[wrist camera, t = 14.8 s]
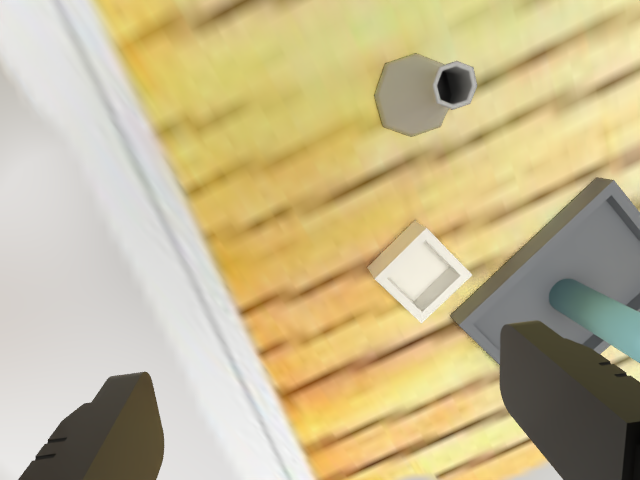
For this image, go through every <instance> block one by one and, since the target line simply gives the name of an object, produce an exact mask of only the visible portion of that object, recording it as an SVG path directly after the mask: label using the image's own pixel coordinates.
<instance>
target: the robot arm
mask: <svg viewBox="0 0 640 480" xmlns="http://www.w3.org/2000/svg"><path fill="white" fill-rule="evenodd" d="M500 391H501V395H502V399H503V402H504V404H505V407H506V409H507V410H508V412H509V413H510V415H511V416H512V417H513V418H514V420H515V421H516V422H517V423H518V425H519V426H520V427H521V428H522V429H523V431H524V432H525V433H526V434H527V436H528V437H529V438H530V439H531V440H532V442H533V443H534V444H535V445H536V447H537V448H538V449H539V450H540V451H541V453H542V454H543V455H544V456H545V458H546V459H547V460H548V461H549V462H550V464H551V465H552V466H553V467H554V468H555V470H556V471H557V472H558V474H559V475H560V476H561V477H562V478H563V480H640V382H639V381H637V380H636V379H634V378H633V377H632V376H627V375H626V372H624V371H623V370H622V369H620V368H619V367H617V366H616V365H614V364H610V361H609V360H607V359H606V358H604V357H603V356H601V355H600V354H599V353H597V352H596V351H594V350H593V349H591V348H589V347H587V346H584V345H582V344H579V343H577V342H574V341H572V340H569V339H567V338H565V339H564V338H563V337H561V336H560V335H559V334H557V333H556V332H555V331H553V330H552V329H550V328H549V327H548V326H546V325H545V324H544V323H542V322H541V321H538V320H534V321H527V322H520V323H512V324H506V325H504V326H503V327H502V329H501V333H500ZM163 455H164V434H163V429H162V425H161V420H160V416H159V411H158V406H157V402H156V397H155V392H154V388H153V383H152V380H151V377H150V375H149V374H148V373H147V372H140V373H133V374H125V375H119V376H111V377H109V378H108V379H107V381H106V382H105V383H104V385H103V387H102V388H101V389H100V391H99V392H98V394H97V395H96V397H95V398H94V399H93V401H92V402H91V403H85V404H83V405H82V406H80V407H79V408H78V409H77V410H75V411H74V412H73V413H71V414H70V415H69V416H68V417H66V418H65V419H64V420H63V421H62V422H61V423H60V424H59V426H58V427H57V428H56V430H55V431H54V432H53V434H52V435H51V436H50V438H49V439H48V443H47V444H45V445H44V446H43V447H42V448H41V450H40V451H39V453H38V454H37V455H36V459H35V461H32V462H31V463H30V465H29V466H28V467H27V469H26V470H25V471H24V473H23V474H22V475H21V477H20V478H19V480H156V478H157V476H158V473H159V470H160V467H161V464H162V461H163Z"/></svg>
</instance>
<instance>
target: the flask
mask: <svg viewBox="0 0 640 480" xmlns="http://www.w3.org/2000/svg"><path fill="white" fill-rule="evenodd" d="M476 88H477V82H476V78H475V73H474V68H473V67H471V66H469V65H466V64H464V63H461V62H459V61H455V62H452V63H449V64H446V65H445V64H442V63H440V62H437V61H434V60H432V59H429V58H427V57H424V56H422V55H419V54H417V53H415V54H412V55H409V56H406V57H403V58H400V59H397V60H394V61H391V62H388V63H385V66H384V69H383V72H382V75H381V78H380V80H379V83H378V86H377V89H376V92H375V95H374V96H375V100H376V103H377V107H378V111H379V114H380V118H381V121H382V125H383V127H385V128H388V129H391V130H394V131H397V132H399V133H402V134H405V135H408V136H411V137H412V136H415V135H418V134H421V133H424V132H427V131H430V130H433V129H436V128H438V127H441V125H442V122H443V120H444V117H445V115H446V113H447V111H448V110H449V109H452V110H453V109H456V108H459V107H462V106H465V105H468V104H470V103H471V100H472V98H473V95H474V93H475V90H476Z"/></svg>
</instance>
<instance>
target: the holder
mask: <svg viewBox="0 0 640 480" xmlns="http://www.w3.org/2000/svg"><path fill="white" fill-rule="evenodd" d="M367 268H368V270H369V271H370V273H371V274H372V276H373V277H374V279H375V280H376V281H377V282H378V283H379V284H380V285H381V286H383V287H384V288H385V289H386V290H387V291H388V292H389V293H390V294H391V295H392V296H393V297H394V298H395V299H396V300H397V301H398V302H400V303H401V304H402V305H403V306H404V307H405V308H406V309H407V310H408V311H409V312H410V313H411V314H412V315H413V316H414V317H415V318H417V319H418V320H419V321H420V322H421V323H422V322H423V321H425V320H426V319H427V318H428V317H429V316H430V315H431V314H432V313H433V312H434V311H435V310H436V309H437V308H438V307H439V306H440V305H441V304H442V303H443V302H445V301H446V300H447V299H448V298H449V297H450V296H451V295H452V294H453V293H454V292H455V291H456V290H457V289H458V288H459V287H460V286H461V285H462V284H463V283H465V282H466V281H467V280H468V279H469V278H470V277H471V276H472V274H471V273H470V272H469V271H468V270H467V269H466V268H465V267H464V266H463V265H462V264H461V263H460V262H459V261H458V260H457V259H456V258H455V257H454V256H453V255H452V254H451V253H450V252H449V251H448V249H447V248H446V247H445V246H444V245H443V244H442V243H441V242H440V241H439V240H438V239H437V238H436V237H435V236H434V235H433V234H432V233H431V232H430V231H429V230H428V229H427V228H426V227H424V226H423V225H421V224H420V223H418V222H417V221H414V222H413V223H411V224H410V225H409V226H408V227H407V228H406V229H405V230H404V231H403V232H402V233H401V234H400V235H399V236H398V237H397V238H396V239H395V240H394V241H393V242H392V243H391V244H390V245H389V246H388V247H387V248H386V249H385V250H384V251H383V252H382V253H381V254H380V255H379V256H378V257H377V258H376V259H375V260H374V261H373V262H372V263H371V264H370V265H369V266H368V267H367Z"/></svg>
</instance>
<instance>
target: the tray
mask: <svg viewBox="0 0 640 480" xmlns="http://www.w3.org/2000/svg"><path fill="white" fill-rule="evenodd" d="M563 279H573V280H576V281H578V282H580V283H582V284H584V285H586V286H588V287H590V288H592V289H594V290H596V291H598V292H600V293H602V294H604V295H606V296H608V297H610V298H612V299H614V300H616V301H618V302H620V303H622V304H624V305H626V306H628V307H630V308H632V309H634V310H636V311H638V312H640V212H639V211H638V210H637V209H636V207H635V206H634V205H633V204H632V202H631V201H630V200H629V199H628V197H627V196H626V195H625V193H624V192H623V191H622V190H621V188H620V187H619V186H618V185H617V183H616V182H615V181H614V180H610V179H603V178H596V179H595V180H593V181H592V182H591V183H590V184H589V185H588V186H587V187H586V188H585V189H584V190H583V191H582V192H581V193H580V194H579V195H578V196H577V197H575V198H574V199H573V200H572V201H571V202H570V203H569V204H568V205H567V206H566V207H565V208H564V209H563V210H562V211H561V212H560V213H558V214H557V215H556V216H555V217H554V218H553V219H552V220H551V221H550V222H549V223H548V224H547V225H546V226H545V227H544V228H543V229H541V230H540V231H539V232H538V233H537V234H536V235H535V236H534V237H533V238H532V239H531V240H530V241H529V242H528V243H527V244H526V245H525V246H523V247H522V248H521V249H520V250H519V251H518V252H517V253H516V254H515V255H514V256H513V257H512V258H511V259H510V260H509V261H508V262H506V263H505V264H504V265H503V266H502V267H501V268H500V269H499V270H498V271H497V272H496V273H495V274H494V275H493V276H492V277H491V278H489V279H488V280H487V281H486V282H485V283H484V284H483V285H482V286H481V287H480V288H479V289H478V290H477V291H476V292H475V293H474V294H473V295H471V296H470V297H469V298H468V299H467V300H466V301H465V302H464V303H463V304H462V305H461V306H460V307H459V308H458V309H457V310H456V311H454V312H453V313H452V314H451V315H450V316H451V317H452V318H453V319H454V321H455V322H456V323H457V324H458V325H459V326H460V327H461V328H462V329H463V330H464V331H465V332H466V333H467V334H468V335H469V336H470V337H471V338H472V339H474V340H475V341H476V342H477V343H478V344H479V345H480V346H481V347H482V348H483V349H484V350H485V351H486V352H487V353H488V354H489V355H490V356H491V357H492V358H493V359H494V360H495V361H496V362H497V363H498V364H499V365H500V333H501V329H502V327H503V326H504V325H506V324H512V323H520V322H527V321H534V320H538V321H541V322H542V323H544V324H545V325H546V326H548V327H549V328H550V329H552V330H553V331H555V332H556V333H557V334H559V335H560V336H561V337H563V338H564V339H565V338H567V339H569V340H572V341H574V342H577V343H579V344H582V345H584V346H587V347H589V348H591V349H593V350H594V351H596V352H597V353H599V354H601V353H602V352H603V351H604V350H605V349H607V348H608V347H609V346H610V344H609V343H607V342H606V341H604V340H603V339H601V338H600V337H598V336H596V335H595V334H593V333H592V332H590V331H589V330H587V329H585V328H584V327H582V326H581V325H579V324H578V323H576V322H574V321H573V320H571V319H570V318H568V317H567V316H565V315H563V314H562V313H560V312H559V311H557V310H556V309H554V308H553V307H552V306H551V304H550V302H549V293H550V290H551V289H552V287H553V286H554V285H555V284H556V283H557V282H558V281H560V280H563Z"/></svg>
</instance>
